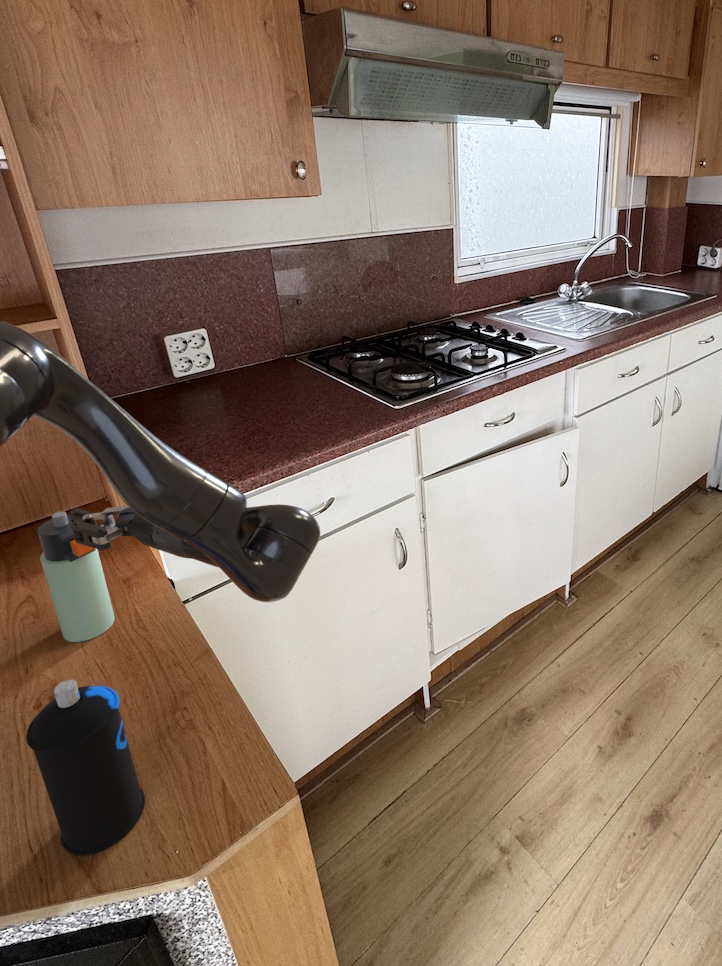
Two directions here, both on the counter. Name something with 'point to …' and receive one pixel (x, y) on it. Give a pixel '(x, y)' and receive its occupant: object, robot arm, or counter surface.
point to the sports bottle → (74, 582)
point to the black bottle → (86, 767)
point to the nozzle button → (80, 548)
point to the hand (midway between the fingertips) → (107, 501)
